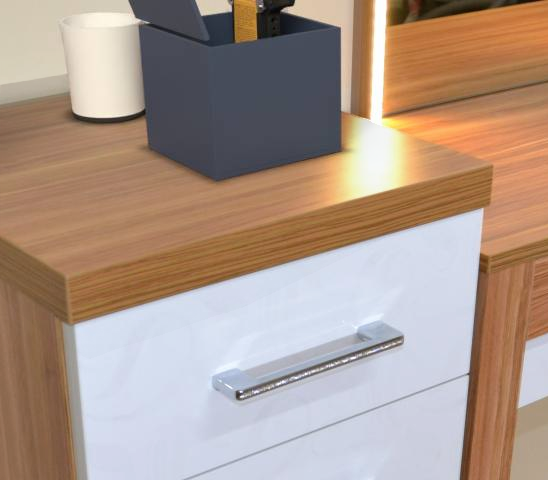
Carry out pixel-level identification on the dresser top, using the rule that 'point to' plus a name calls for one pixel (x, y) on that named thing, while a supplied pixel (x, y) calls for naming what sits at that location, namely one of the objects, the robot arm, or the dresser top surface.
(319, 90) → the carton
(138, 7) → the flap
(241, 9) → the supplement box
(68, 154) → the dresser top surface
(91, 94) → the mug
